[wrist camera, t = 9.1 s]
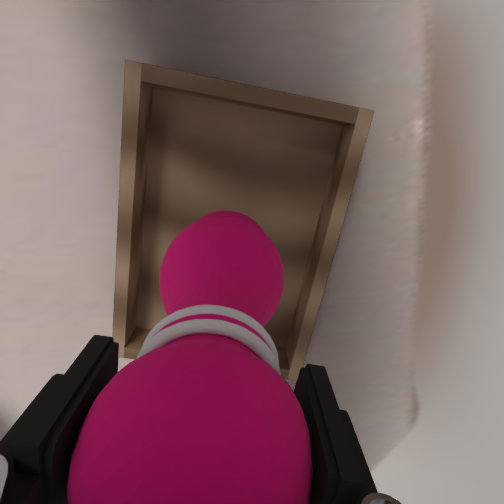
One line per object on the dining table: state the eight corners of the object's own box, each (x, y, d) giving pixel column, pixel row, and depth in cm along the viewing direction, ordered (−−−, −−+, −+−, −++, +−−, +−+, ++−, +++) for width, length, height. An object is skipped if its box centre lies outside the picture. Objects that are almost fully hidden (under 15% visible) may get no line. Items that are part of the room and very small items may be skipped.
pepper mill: (297, 249, 24) (512, 700, 5) (230, 314, 25) (193, 841, 6) (221, 180, 22) (83, 460, 3) (155, 255, 23) (-204, 741, 5)
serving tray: (143, 71, 24) (125, 59, 20) (354, 114, 25) (374, 110, 21) (127, 329, 31) (111, 356, 27) (292, 352, 32) (298, 380, 28)
